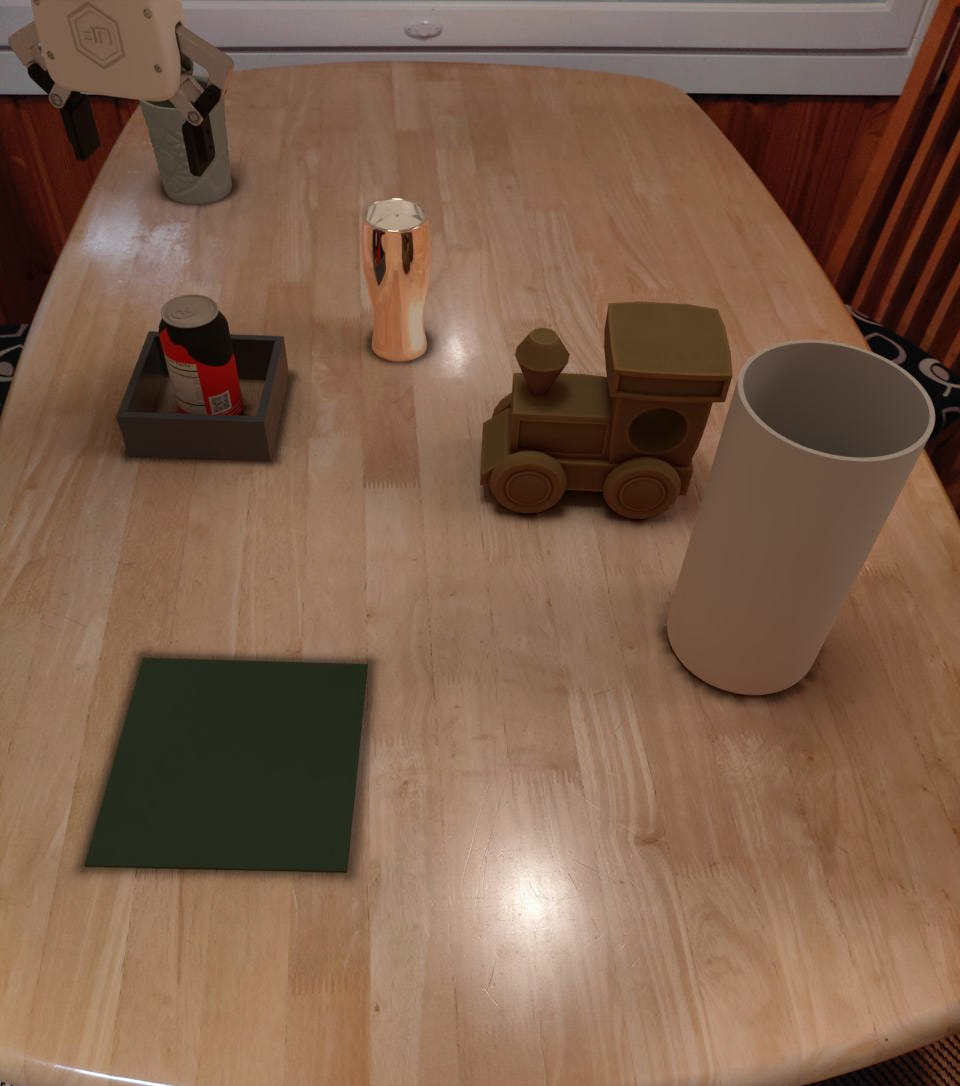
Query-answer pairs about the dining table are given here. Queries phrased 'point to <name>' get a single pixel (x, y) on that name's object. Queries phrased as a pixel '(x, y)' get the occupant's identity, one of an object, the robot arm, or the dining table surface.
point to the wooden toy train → (610, 412)
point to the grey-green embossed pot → (173, 155)
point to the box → (202, 431)
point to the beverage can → (200, 356)
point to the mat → (234, 767)
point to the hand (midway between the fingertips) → (145, 161)
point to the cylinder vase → (793, 509)
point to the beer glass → (397, 274)
